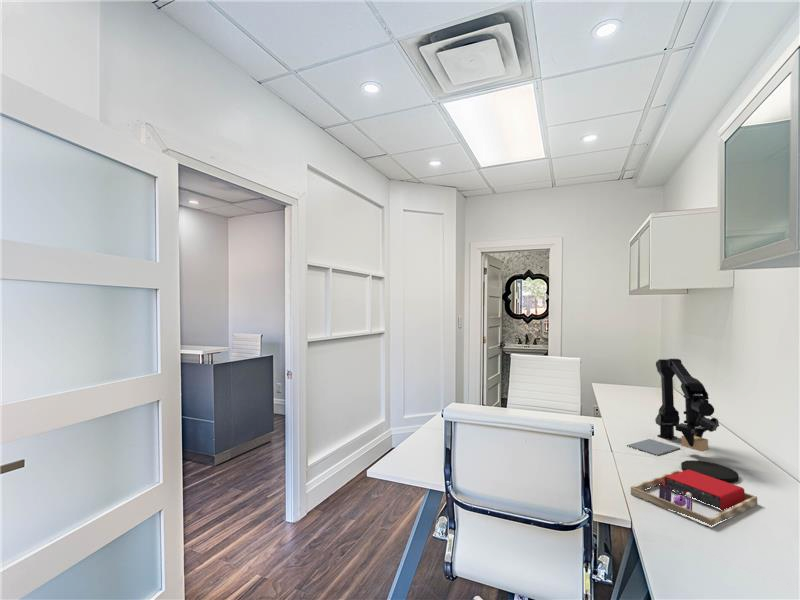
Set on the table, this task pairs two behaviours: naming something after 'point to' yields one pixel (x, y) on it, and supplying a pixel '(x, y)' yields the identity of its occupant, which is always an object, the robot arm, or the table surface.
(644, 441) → the mat
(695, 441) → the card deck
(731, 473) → the wireless charger
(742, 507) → the organizer frame
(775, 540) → the table surface
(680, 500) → the game card
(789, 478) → the table surface
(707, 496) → the red device housing
